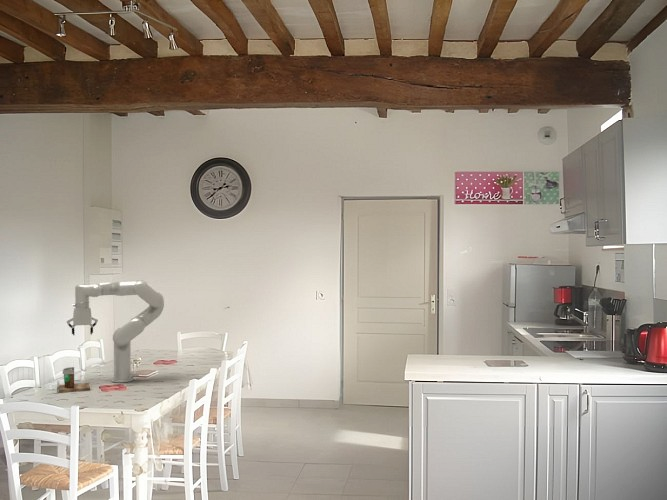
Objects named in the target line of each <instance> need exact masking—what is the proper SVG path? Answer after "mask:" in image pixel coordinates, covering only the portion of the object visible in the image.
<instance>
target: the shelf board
mask: <svg viewBox="0 0 667 500" xmlns="http://www.w3.org/2000/svg"><path fill="white" fill-rule="evenodd" d="M56 384H57V385H56V387H57V388H56V389H57V394H63V393H75V392H76V393H77V392H89V391H91V385H90V382H82V383H81V382H78V383H74V388H65V384H60V381H57V383H56Z"/></svg>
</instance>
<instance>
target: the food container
mask: <svg viewBox="0 0 667 500" xmlns="http://www.w3.org/2000/svg"><path fill="white" fill-rule="evenodd" d="M62 374H63V379H64V382H63V383H64V385H65V388H74V384H75V366H73V367H71V366H70V367H65V368H63V370H62Z"/></svg>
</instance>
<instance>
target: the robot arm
mask: <svg viewBox="0 0 667 500" xmlns="http://www.w3.org/2000/svg"><path fill="white" fill-rule="evenodd" d="M74 289H75V291H74V295H75V296H74V298H75V301H74V302H75V303H72V307H73V308H74V307H75V308H74V309H73V313H72V317H71V318H70V319H68V320H66V324H67V326H68V327H69V328H71V334H72V336H75V327H76V326H90V327H89V328H90V331H89V333H90V335H91V336H92V335H93V333H94V327H95V326H96V325H97V323H98V321H99V320H98V319H97V318H94V317H92V309H91V307H90V298H91V297H92V298H97V297H100V296H101V297H102V296H118V297H125V296H138V297H139V298H140V299H142V300H143V301H144V302H146V303H147V305H148V307H147V308H145V309H144V310H142V312H140V313H139V314H138V315H136V316H134V317H132V318H130V320H129V321H128V322H127V323H125V324H124V325H122V326H121V327H118V328H117V329H115V331H114V332H113V334H112V342H113V377H112V379H111V382H112V383H129V382H133V381H134V378H138V377H140V373H135V372H134V373H133V372H131V371H132V367H131V362H132V361H131V360H132V359H131V353H132V352H131V345H132V344H131V342H132V340H133V339H135V338H136V337H138V336H139V335H140V334H142V333H143V332H144V331H145V328H147V327H148V326H149V325H151V324H152V323H153V322H154V321H155V320H156V319H158V318H159V317H160V315H162V313H163V311H164V308H165V298H164V296H163V294H162V293H160V292H157V291H156V290H155V289H153V288H152V287H151V286H150V285H148V283H147V282H146V281H144V280H142V279H141V280H128V281H127V280H126V281H125V280H124V281H123V280H122V281H116V282H113V281H112V282H97V283H93V284H76V285H75V287H74ZM92 321H94V322H93V323H92ZM71 322H72V324H71Z"/></svg>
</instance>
